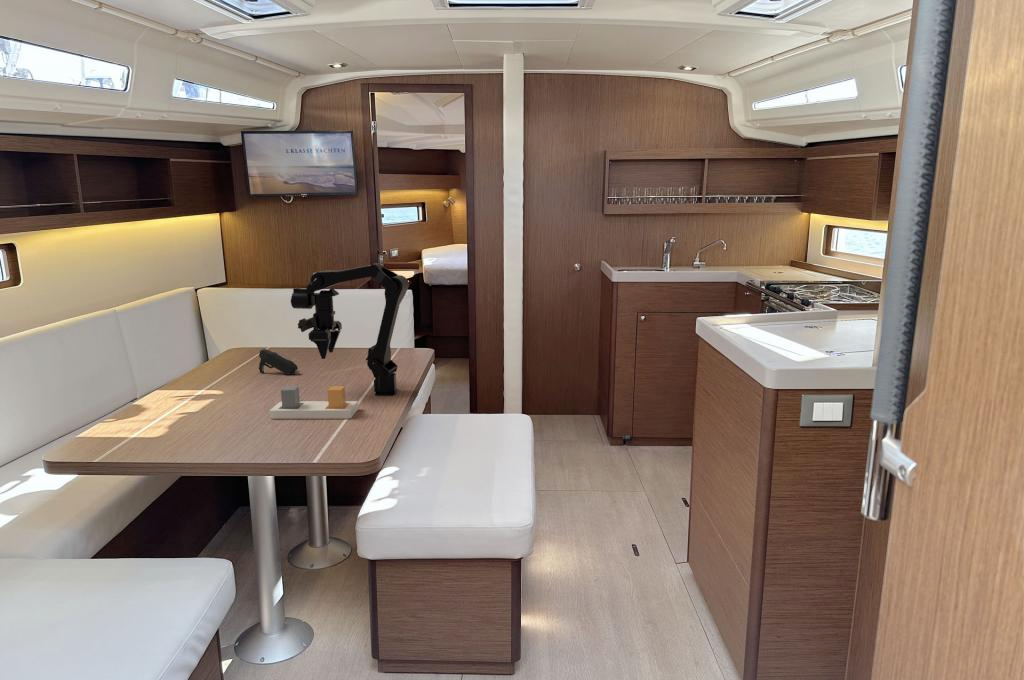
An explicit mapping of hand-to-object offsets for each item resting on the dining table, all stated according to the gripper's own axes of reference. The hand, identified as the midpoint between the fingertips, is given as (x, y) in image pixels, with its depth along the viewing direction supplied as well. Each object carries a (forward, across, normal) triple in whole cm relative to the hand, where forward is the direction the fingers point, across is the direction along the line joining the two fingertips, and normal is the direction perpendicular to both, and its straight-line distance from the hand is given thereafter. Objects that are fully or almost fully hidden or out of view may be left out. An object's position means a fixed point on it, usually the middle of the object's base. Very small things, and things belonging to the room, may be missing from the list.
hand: (327, 355), depth 229 cm
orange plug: (+12, +25, +9) cm, 29 cm away
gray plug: (+12, +25, -5) cm, 28 cm away
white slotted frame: (+12, +25, +2) cm, 28 cm away
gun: (+13, -23, -24) cm, 36 cm away
